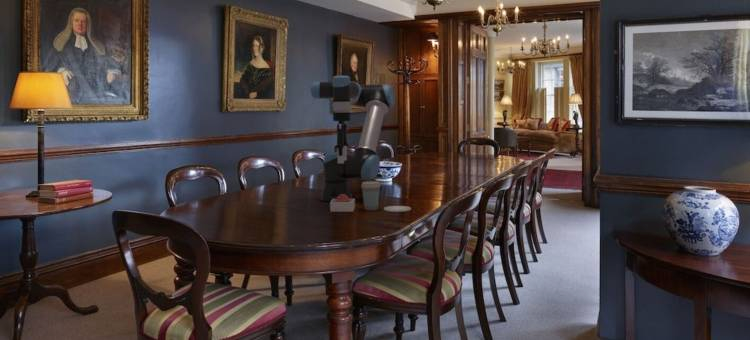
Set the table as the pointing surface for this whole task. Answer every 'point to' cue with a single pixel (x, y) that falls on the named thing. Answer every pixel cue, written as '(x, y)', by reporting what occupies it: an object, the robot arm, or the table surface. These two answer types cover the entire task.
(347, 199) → the dome plunger
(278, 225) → the table surface
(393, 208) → the pad
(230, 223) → the table surface
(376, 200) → the coffee cup
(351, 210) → the popper housing
